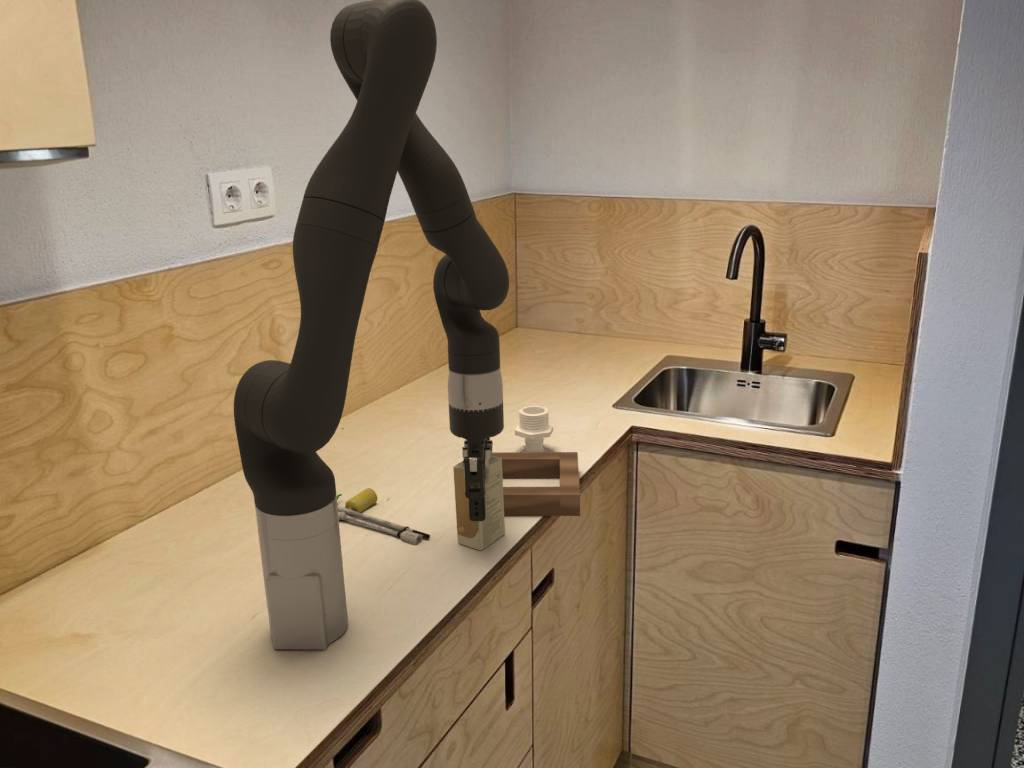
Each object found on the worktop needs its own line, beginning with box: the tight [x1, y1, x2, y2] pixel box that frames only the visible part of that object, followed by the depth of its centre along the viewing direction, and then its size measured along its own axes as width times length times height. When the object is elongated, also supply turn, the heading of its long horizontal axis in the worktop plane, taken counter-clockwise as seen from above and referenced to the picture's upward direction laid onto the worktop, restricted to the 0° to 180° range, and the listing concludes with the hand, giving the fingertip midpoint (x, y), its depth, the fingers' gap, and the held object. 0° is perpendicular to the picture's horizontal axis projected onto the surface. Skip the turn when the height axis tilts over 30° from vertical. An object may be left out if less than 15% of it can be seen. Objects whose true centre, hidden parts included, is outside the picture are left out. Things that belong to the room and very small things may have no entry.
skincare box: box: [453, 455, 506, 551], centre depth 128 cm, size 6×4×12 cm
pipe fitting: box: [514, 405, 554, 452], centre depth 159 cm, size 6×7×8 cm
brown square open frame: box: [492, 451, 581, 517], centre depth 144 cm, size 17×17×4 cm
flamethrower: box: [336, 487, 431, 546], centre depth 138 cm, size 29×3×10 cm
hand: (480, 507), depth 128 cm, fingers closed on skincare box, 7 cm apart
